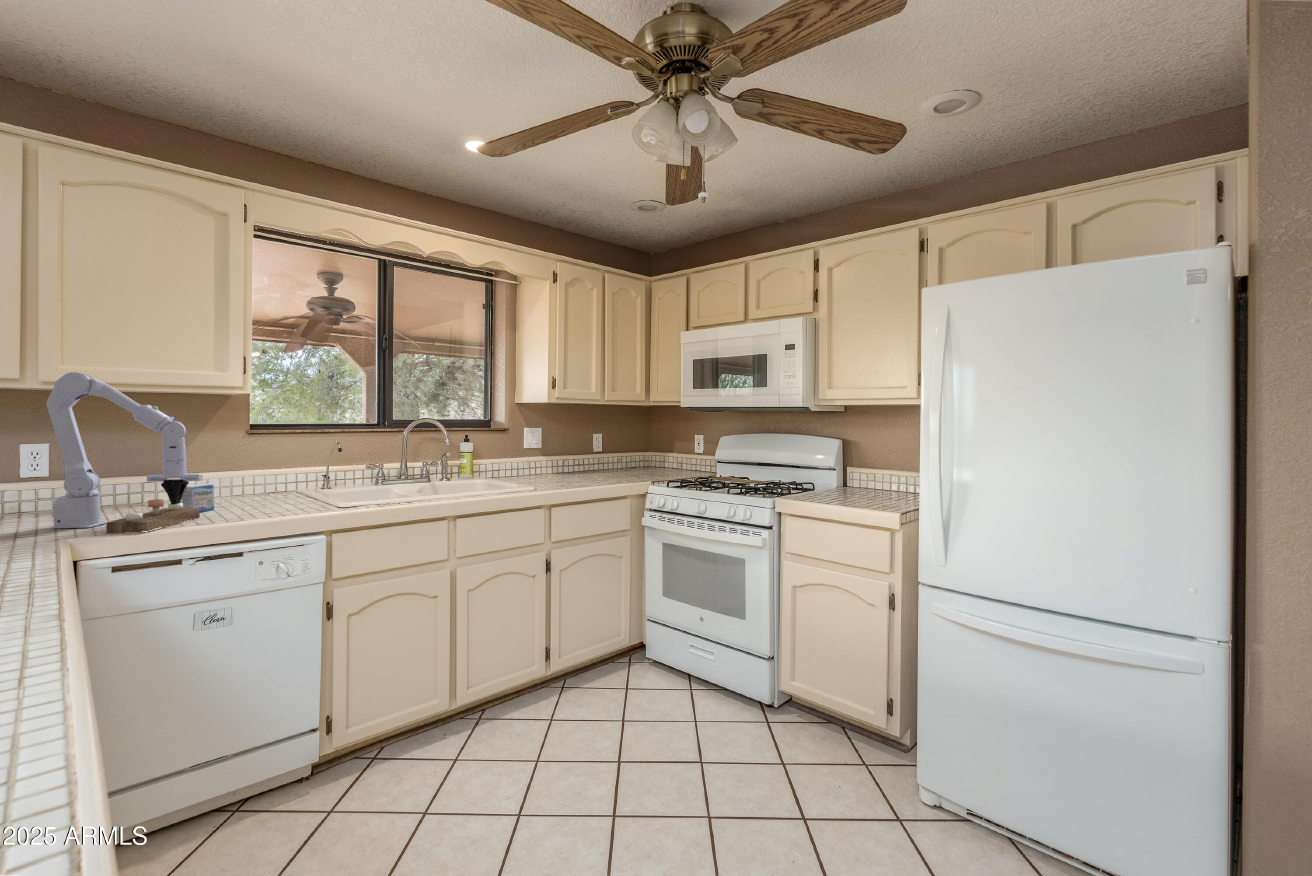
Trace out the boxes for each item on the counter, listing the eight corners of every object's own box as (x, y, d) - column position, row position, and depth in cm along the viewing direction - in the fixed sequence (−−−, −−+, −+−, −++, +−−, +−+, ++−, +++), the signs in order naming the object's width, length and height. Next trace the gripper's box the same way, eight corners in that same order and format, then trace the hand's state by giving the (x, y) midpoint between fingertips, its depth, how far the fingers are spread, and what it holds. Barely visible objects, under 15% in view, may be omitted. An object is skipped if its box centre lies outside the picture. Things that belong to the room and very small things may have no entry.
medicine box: (192, 513, 198) (192, 487, 197) (181, 513, 198) (180, 486, 198) (214, 509, 205) (214, 484, 205) (203, 509, 206) (203, 483, 206)
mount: (106, 533, 166) (106, 522, 166) (164, 517, 190) (164, 508, 189) (147, 532, 167) (146, 521, 167) (199, 517, 191) (199, 507, 191)
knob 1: (122, 531, 168) (122, 515, 167) (132, 528, 171) (131, 512, 171) (137, 531, 168) (136, 514, 168) (146, 528, 172) (145, 512, 171)
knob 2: (165, 519, 185) (165, 504, 185) (173, 517, 189) (173, 503, 189) (178, 519, 186) (178, 504, 186) (186, 517, 189) (185, 502, 189)
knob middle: (145, 516, 176) (144, 501, 176) (153, 514, 180) (153, 499, 180) (158, 516, 177) (158, 501, 177) (166, 514, 180) (166, 499, 180)
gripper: (139, 461, 182) (140, 507, 182) (192, 461, 184) (193, 506, 184) (155, 459, 188) (156, 503, 189) (206, 459, 191) (207, 502, 191)
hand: (175, 504), depth 187 cm, fingers closed, pressing on knob 2
